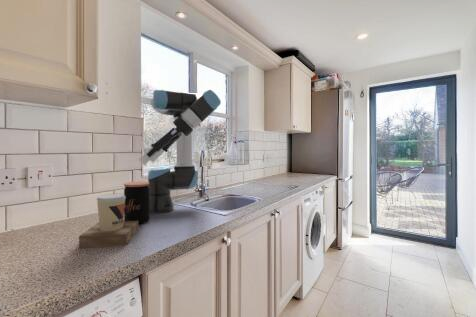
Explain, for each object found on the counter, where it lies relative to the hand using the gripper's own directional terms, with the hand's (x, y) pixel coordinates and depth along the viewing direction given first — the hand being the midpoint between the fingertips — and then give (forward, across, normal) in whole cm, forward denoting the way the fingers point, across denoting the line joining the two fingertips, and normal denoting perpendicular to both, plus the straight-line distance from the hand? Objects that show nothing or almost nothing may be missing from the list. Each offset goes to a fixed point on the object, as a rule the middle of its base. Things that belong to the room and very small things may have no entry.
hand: (146, 161), depth 87 cm
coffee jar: (+27, +19, -15) cm, 36 cm away
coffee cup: (+27, 0, -9) cm, 28 cm away
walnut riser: (+29, 0, -12) cm, 32 cm away
